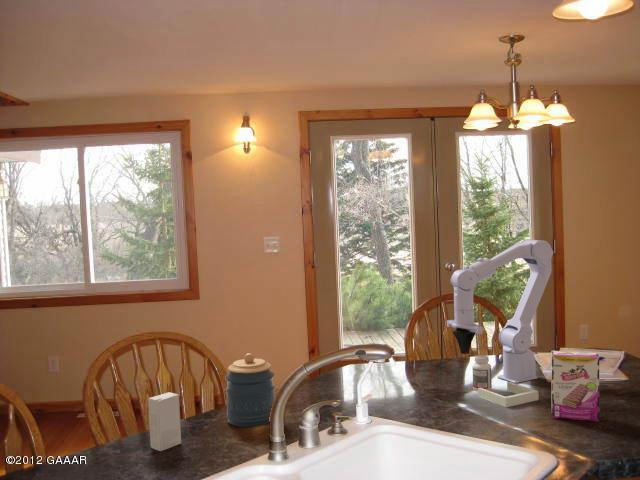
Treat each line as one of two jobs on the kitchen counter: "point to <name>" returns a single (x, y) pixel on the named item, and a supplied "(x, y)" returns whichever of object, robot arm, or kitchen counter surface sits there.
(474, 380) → the pill bottle
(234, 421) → the canister
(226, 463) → the kitchen counter surface
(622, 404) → the kitchen counter surface
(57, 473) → the kitchen counter surface
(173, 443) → the skincare box
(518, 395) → the u-shaped bracket
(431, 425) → the kitchen counter surface
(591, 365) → the candy bar box
